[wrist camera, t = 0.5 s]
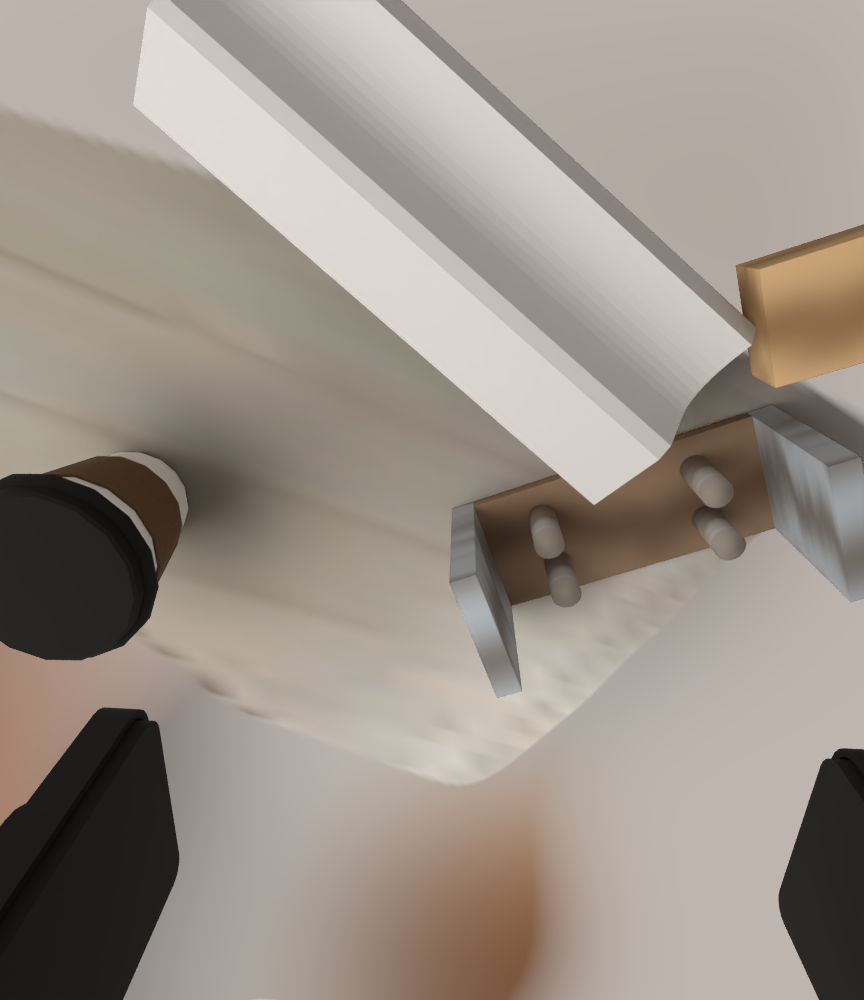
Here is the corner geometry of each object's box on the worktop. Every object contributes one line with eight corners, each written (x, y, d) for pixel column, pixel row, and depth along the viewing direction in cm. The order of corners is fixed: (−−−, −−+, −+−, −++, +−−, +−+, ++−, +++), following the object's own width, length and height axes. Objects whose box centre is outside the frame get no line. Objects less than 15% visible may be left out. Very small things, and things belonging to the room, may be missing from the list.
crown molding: (745, 333, 35) (780, 323, 31) (592, 503, 36) (610, 513, 33) (284, -92, 32) (265, -156, 29) (135, 107, 34) (100, 70, 30)
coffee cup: (40, 514, 46) (-93, 605, 35) (99, 384, 42) (-29, 441, 31) (182, 591, 48) (98, 701, 37) (250, 474, 44) (179, 557, 33)
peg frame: (452, 508, 45) (449, 582, 35) (771, 404, 41) (861, 457, 32) (490, 605, 47) (497, 698, 38) (793, 516, 44) (880, 594, 35)
